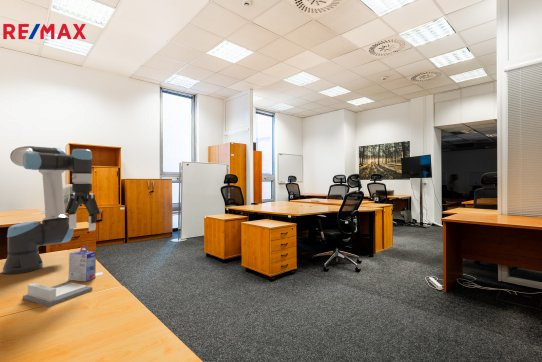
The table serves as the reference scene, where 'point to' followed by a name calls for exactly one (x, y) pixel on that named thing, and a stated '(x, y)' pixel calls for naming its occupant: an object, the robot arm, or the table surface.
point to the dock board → (60, 298)
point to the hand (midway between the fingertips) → (82, 229)
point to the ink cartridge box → (82, 265)
